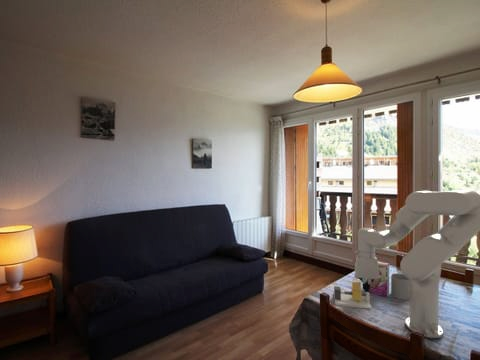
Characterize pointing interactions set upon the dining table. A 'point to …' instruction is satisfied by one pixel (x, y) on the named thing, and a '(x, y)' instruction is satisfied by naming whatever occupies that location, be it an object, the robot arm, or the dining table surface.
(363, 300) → the shallow white tray
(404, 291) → the cup
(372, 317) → the dining table surface
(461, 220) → the robot arm
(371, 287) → the candy bar box
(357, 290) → the yellow tall block
